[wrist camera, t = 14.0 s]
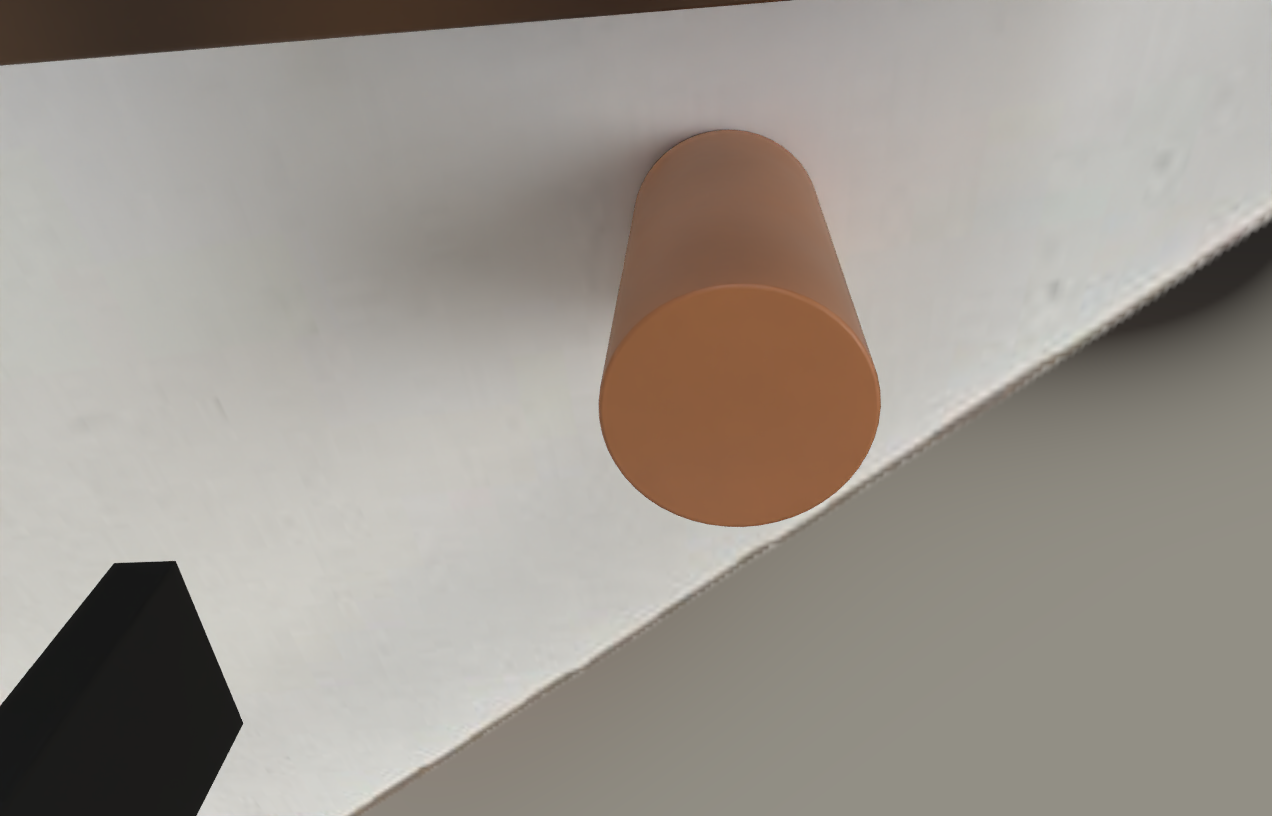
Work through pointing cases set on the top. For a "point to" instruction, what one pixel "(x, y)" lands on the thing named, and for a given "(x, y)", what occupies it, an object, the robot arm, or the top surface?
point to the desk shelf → (265, 21)
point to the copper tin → (735, 340)
